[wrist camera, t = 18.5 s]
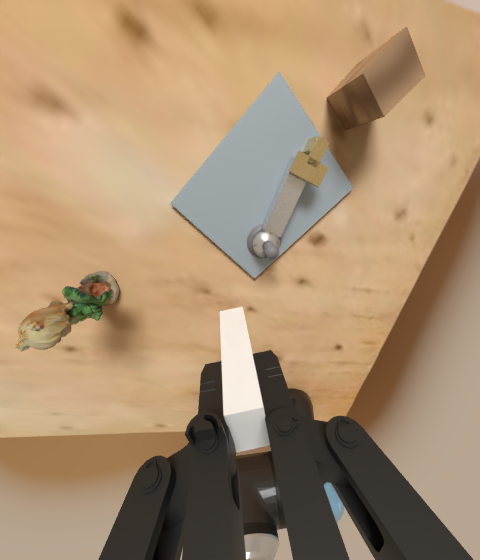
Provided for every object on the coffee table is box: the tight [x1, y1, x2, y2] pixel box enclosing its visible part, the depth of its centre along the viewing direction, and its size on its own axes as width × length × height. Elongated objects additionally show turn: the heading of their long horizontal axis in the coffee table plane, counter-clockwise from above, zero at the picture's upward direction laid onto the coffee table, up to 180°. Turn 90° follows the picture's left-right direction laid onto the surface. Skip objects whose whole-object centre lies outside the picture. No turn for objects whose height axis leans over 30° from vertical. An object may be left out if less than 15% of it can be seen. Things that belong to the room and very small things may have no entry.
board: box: [170, 72, 354, 279], centre depth 31 cm, size 19×22×7 cm
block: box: [327, 26, 425, 129], centre depth 26 cm, size 5×5×8 cm
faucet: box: [252, 156, 307, 258], centre depth 33 cm, size 15×4×2 cm, turn 159°
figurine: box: [15, 272, 119, 352], centre depth 31 cm, size 9×8×15 cm
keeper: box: [289, 136, 330, 187], centre depth 30 cm, size 5×5×4 cm
